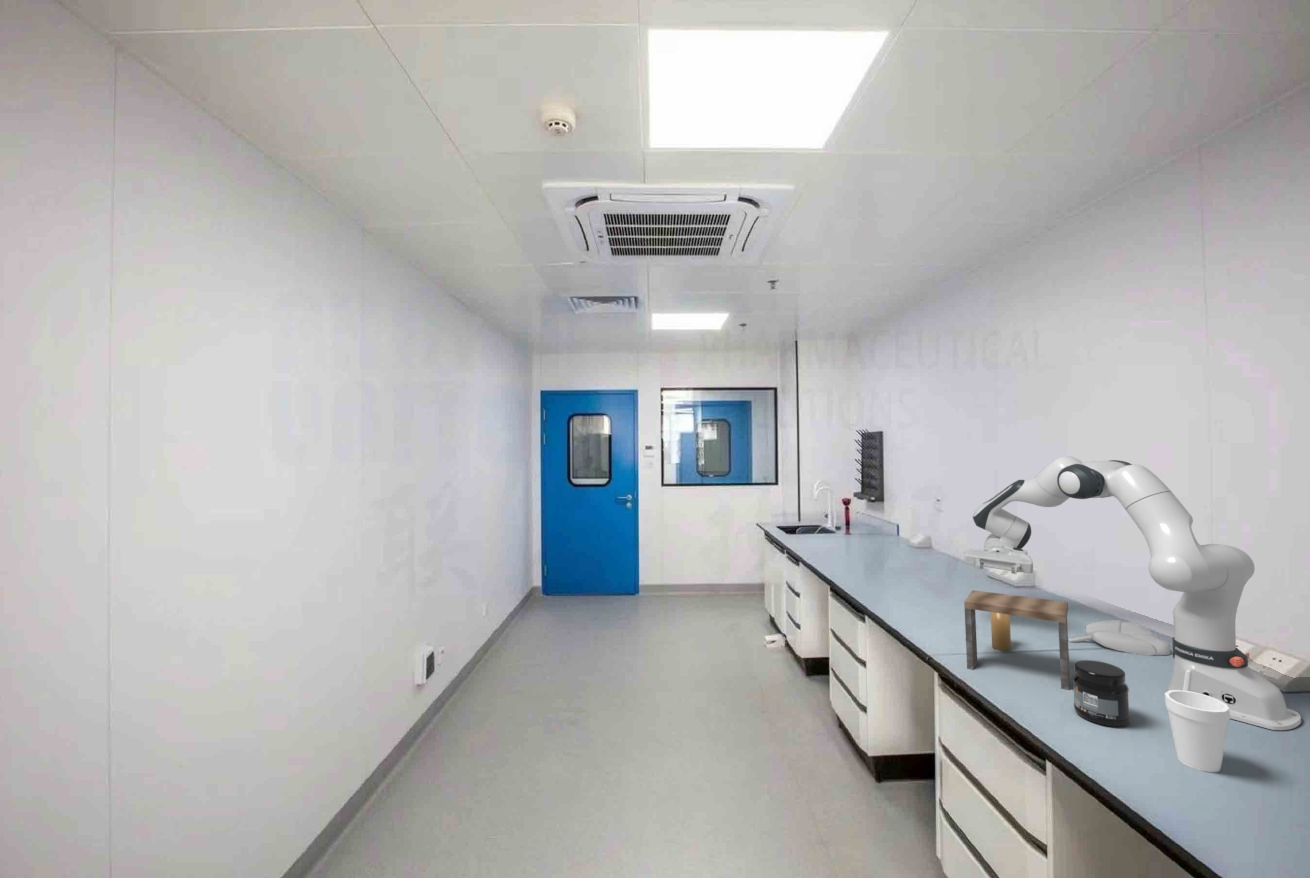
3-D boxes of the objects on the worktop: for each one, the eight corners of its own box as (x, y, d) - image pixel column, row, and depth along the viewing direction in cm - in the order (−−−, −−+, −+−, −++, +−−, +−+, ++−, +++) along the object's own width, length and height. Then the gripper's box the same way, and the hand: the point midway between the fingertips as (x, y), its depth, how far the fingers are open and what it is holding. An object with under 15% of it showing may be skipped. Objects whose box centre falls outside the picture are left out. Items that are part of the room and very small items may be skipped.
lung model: (1179, 657, 161) (1083, 660, 167) (1143, 637, 178) (1057, 640, 184) (1175, 635, 161) (1080, 639, 168) (1139, 617, 178) (1054, 621, 184)
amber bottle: (1014, 648, 172) (1012, 606, 172) (1004, 652, 170) (1002, 609, 170) (998, 643, 177) (996, 602, 177) (988, 646, 175) (986, 605, 175)
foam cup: (1197, 748, 116) (1194, 689, 116) (1245, 775, 107) (1243, 710, 107) (1155, 751, 116) (1152, 691, 116) (1200, 778, 107) (1197, 713, 107)
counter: (1070, 671, 155) (1067, 602, 155) (1068, 689, 144) (1065, 615, 144) (975, 652, 170) (972, 590, 170) (967, 668, 159) (964, 601, 160)
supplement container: (1120, 710, 133) (1118, 662, 133) (1137, 732, 123) (1135, 680, 123) (1068, 703, 137) (1066, 656, 137) (1081, 723, 128) (1078, 673, 128)
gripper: (964, 542, 197) (961, 555, 185) (1032, 551, 185) (1034, 565, 174) (964, 559, 197) (961, 572, 186) (1031, 568, 186) (1033, 583, 175)
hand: (997, 569), depth 180 cm, fingers open, 8 cm apart
